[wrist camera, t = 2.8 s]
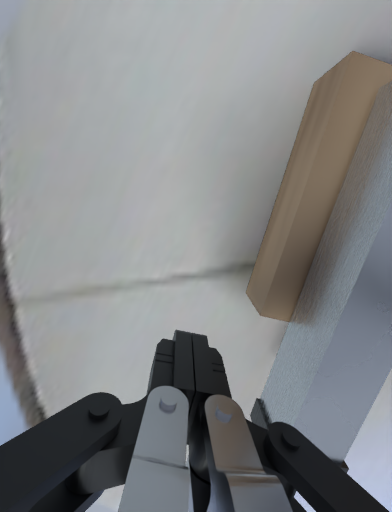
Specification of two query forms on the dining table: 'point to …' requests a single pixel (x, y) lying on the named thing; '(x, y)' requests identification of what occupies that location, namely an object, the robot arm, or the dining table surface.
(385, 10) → the dining table surface
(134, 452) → the robot arm
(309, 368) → the hinged leg
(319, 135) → the wooden board with bar
